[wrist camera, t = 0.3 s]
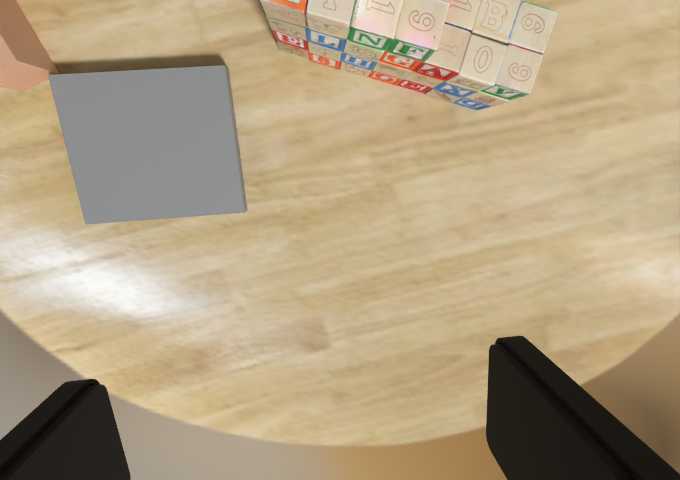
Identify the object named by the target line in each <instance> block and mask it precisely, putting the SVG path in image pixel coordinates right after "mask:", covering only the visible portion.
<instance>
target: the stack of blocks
mask: <svg viewBox="0 0 680 480" xmlns="http://www.w3.org/2000/svg"><path fill="white" fill-rule="evenodd" d="M260 2H261V4H262V6H263V9H264V11H265V13H266V14H265V15H266V18H267V20H268V22H269V25H270V28H271V29H272V31H273V33H274V36H275V38H276V40H277V44H278V47H279V49H280V50H281V51H283V52H287V53H290V54H293V55H296V56H299V57H303V58H306V59H309V60H310V61H313V62H316V63H319V64H322V65H326V66H329V67H332V68H336V69H339V70H342V71H345V72H348V73H351V74H355V75H358V76H362V77H365V78H368V77H370V78H372V79H376V80H380V81H383V82H386V83H389V84H393V85H398V86H401V87H405V88H408V89H411V90H415V91H418V92H421V93H424V94H425V95H427V96H430V97H434V98H437V99H440V100H444V101H447V102H451V103H455V104H458V105H461V106H465V107H468V108H472V109H475V110H481V109H484V108H488V107H491V106H496V105H500V104H503V103H507V102H509V101H510V100H512V99H516V98H519V97H523V96H526V95H529V94H530V92H531V89H532V86H533V83H534V80H535V78H536V75H537V72H538V69H539V67H540V64H541V61H542V58H543V52H544V50H545V48H546V45H547V42H548V39H549V37H550V34H551V31H552V28H553V25H554V22H555V20H556V17H557V14H558V13H557V12H556V11H554V10H550V9H547V8H544V7H541V6H538V5H535V4H532V3H528V2H522V1H521V0H260Z"/></svg>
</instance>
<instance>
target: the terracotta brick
mask: <svg viewBox="0 0 680 480" xmlns="http://www.w3.org/2000/svg"><path fill="white" fill-rule="evenodd" d="M56 74H60V73H59V72H58V70H57V68H56V67H55V65H54V63H53V62H52V60H51V58H50V57H49V55H48V53H47V52H46V50H45V48H44V47H43V45H42V43H41V42H40V40H39V38H38V37H37V35H36V33H35V32H34V30H33V28H32V27H31V25H30V23H29V22H28V20H27V18H26V17H25V15H24V13H23V12H22V10H21V8H20V7H19V5H18V3H17V2H16V0H0V87H3V88H8V89H13V90H18V91H22V92H24V91H26V90H28V89H30V88H32V87H34V86H36V85H38V84H40V83H42V82H45V81H47V80H49V77H48V75H56Z"/></svg>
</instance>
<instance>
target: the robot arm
mask: <svg viewBox="0 0 680 480" xmlns="http://www.w3.org/2000/svg"><path fill="white" fill-rule="evenodd" d="M486 437H487V442H488V445H489V448H490V450H491V452H492V454H493V456H494V457H495V459H496V461H497V462H498V464H499V466H500V468H501V469H502V471H503V473H504V474H505V476H506V478H507V480H680V474H679V473H678V472H677V471H675V470H674V469H673V468H672V467H671V466H670V465H669V464H668V463H666V462H665V461H664V460H663V459H662V458H661V457H660V456H658V455H657V454H656V453H655V452H654V451H653V450H652V449H650V448H649V447H648V446H647V445H646V444H645V443H644V442H642V441H641V440H640V439H639V438H638V437H637V436H636V435H635V434H633V433H632V432H631V431H630V430H629V429H628V428H627V427H626V426H624V425H623V424H622V423H621V422H620V421H619V420H618V419H617V418H615V417H614V416H613V415H612V414H611V413H610V412H609V411H608V410H606V409H605V408H604V407H603V406H602V405H601V404H599V403H598V402H597V401H596V400H595V399H594V398H593V397H592V396H591V395H589V394H588V393H587V392H586V391H585V390H584V389H583V388H581V387H580V386H579V385H578V384H577V383H576V382H575V381H574V380H572V379H571V378H570V377H569V376H568V375H567V374H566V373H564V372H563V371H562V370H561V369H560V368H559V367H558V366H557V365H555V364H554V363H553V362H552V361H551V360H550V359H549V358H548V357H546V356H545V355H544V354H543V353H542V352H541V351H540V350H538V349H537V348H536V347H535V346H534V345H533V344H532V343H531V342H529V341H528V340H527V339H526V338H525V337H523V336H513V337H503V338H498V339H497V340H496V342H495V344H494V345H491V346H490V349H489V371H488V398H487V425H486ZM0 480H130V472H129V469H128V465H127V461H126V457H125V454H124V450H123V447H122V443H121V439H120V436H119V432H118V428H117V425H116V421H115V418H114V414H113V410H112V407H111V403H110V400H109V396H108V392H107V389H106V387H105V386H104V385H100V383H99V382H98V381H97V380H95V379H87V380H78V381H69V382H65V383H64V384H62V385H61V386H60V387H59V388H58V389H57V390H55V391H54V392H53V393H52V394H51V395H50V396H49V397H48V398H47V399H46V400H45V401H43V402H42V403H41V404H40V405H39V406H38V407H37V408H36V409H34V410H33V411H32V412H31V413H30V414H29V415H28V416H27V417H26V418H24V419H23V420H22V421H21V422H20V423H19V424H18V425H17V426H16V427H15V428H13V430H11V431H10V432H9V433H8V434H7V435H6V436H5V437H4V438H2V439H1V440H0Z"/></svg>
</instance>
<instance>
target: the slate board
mask: <svg viewBox="0 0 680 480" xmlns="http://www.w3.org/2000/svg"><path fill="white" fill-rule="evenodd" d="M48 77H49V81H50V85H51V89H52V93H53V97H54V101H55V104H56V108H57V112H58V116H59V120H60V124H61V128H62V132H63V136H64V140H65V144H66V148H67V152H68V156H69V160H70V164H71V168H72V172H73V176H74V180H75V184H76V188H77V192H78V196H79V200H80V204H81V208H82V212H83V216H84V220H85V224H98V223H111V222H125V221H138V220H151V219H165V218H178V217H191V216H205V215H218V214H231V213H244V212H246V211H247V204H246V196H245V189H244V181H243V174H242V166H241V159H240V151H239V144H238V136H237V129H236V121H235V114H234V106H233V99H232V91H231V84H230V76H229V69H228V68H227V67H226V66H225V65H218V66H200V67H182V68H164V69H146V70H128V71H110V72H92V73H74V74H56V75H48Z"/></svg>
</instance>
